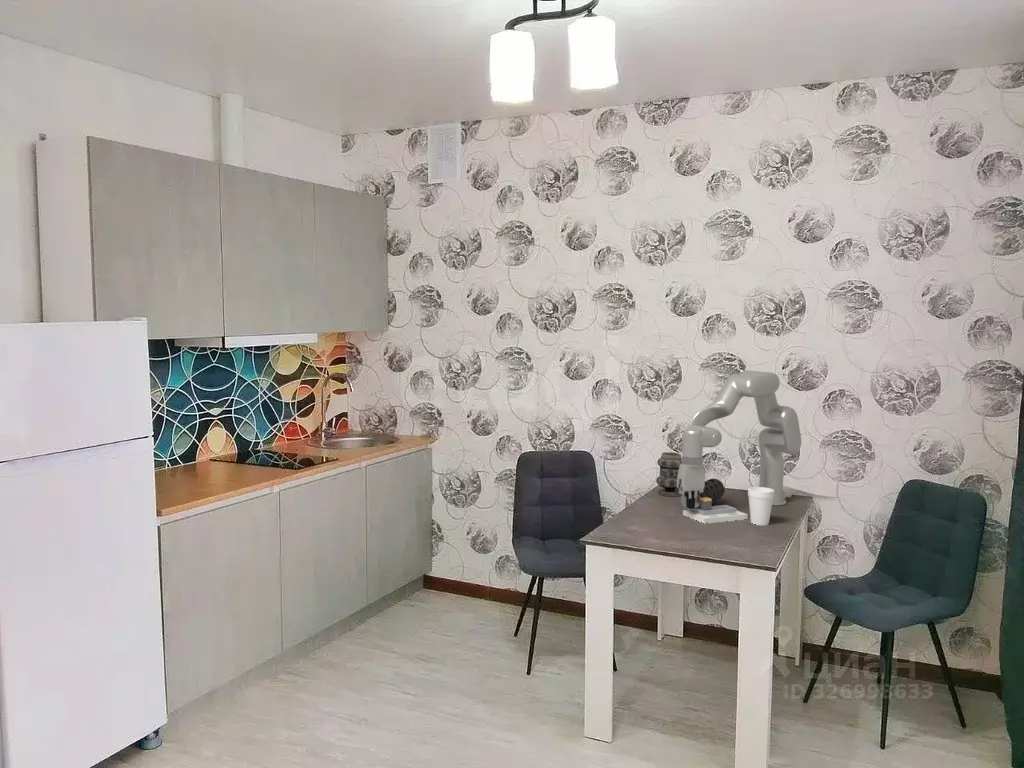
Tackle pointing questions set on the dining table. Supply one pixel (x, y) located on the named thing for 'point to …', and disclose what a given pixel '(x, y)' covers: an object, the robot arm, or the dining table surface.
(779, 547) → the dining table surface
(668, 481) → the apothecary jar
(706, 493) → the muzzle brake
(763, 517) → the foam cup
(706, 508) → the breaker lever
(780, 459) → the robot arm
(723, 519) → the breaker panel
